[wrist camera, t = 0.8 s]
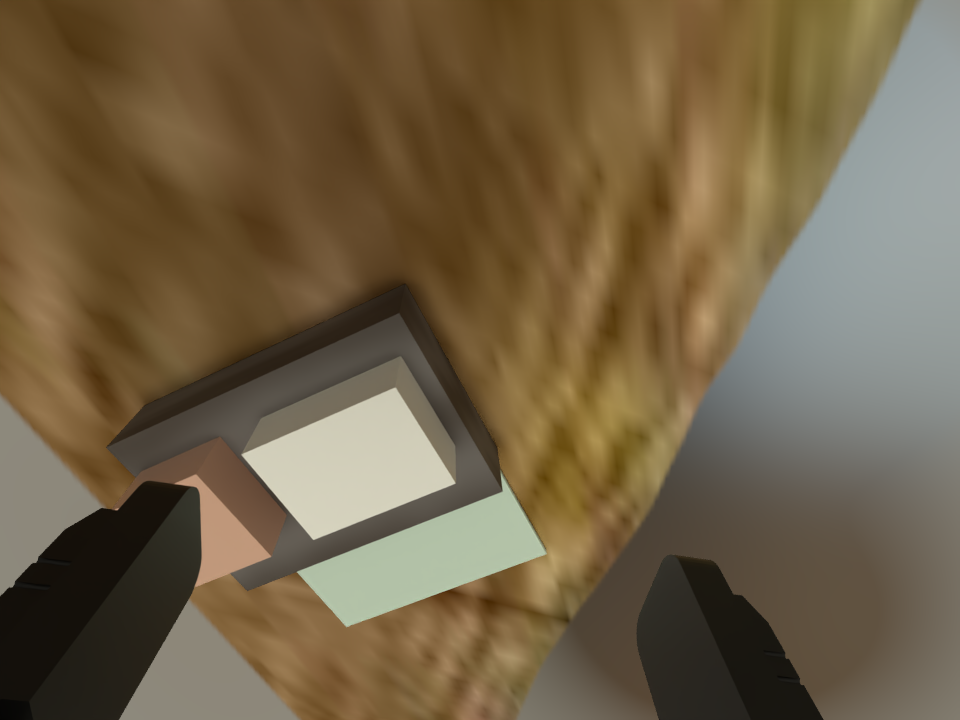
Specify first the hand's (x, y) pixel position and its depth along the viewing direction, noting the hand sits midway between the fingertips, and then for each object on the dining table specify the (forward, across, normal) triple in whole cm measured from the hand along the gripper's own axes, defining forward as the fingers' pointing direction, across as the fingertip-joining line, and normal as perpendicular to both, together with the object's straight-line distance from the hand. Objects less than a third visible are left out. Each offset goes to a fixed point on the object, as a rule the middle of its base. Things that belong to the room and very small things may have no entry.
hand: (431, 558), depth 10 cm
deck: (+21, +6, +12) cm, 25 cm away
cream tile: (+17, +4, +9) cm, 20 cm away
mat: (+22, 0, +21) cm, 30 cm away
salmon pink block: (+17, +11, +14) cm, 25 cm away
